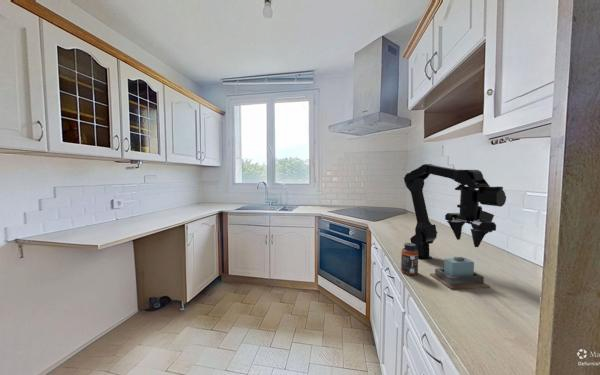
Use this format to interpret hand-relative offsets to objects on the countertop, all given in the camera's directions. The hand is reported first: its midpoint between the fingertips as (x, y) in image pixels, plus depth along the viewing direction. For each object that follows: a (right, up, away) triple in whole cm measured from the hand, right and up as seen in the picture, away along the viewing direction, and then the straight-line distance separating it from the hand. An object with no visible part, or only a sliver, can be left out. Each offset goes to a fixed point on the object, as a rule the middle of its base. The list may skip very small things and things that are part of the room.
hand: (467, 243), depth 90 cm
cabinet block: (-7, -12, -6) cm, 15 cm away
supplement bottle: (-21, -12, +2) cm, 25 cm away
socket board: (-7, -12, -6) cm, 15 cm away
